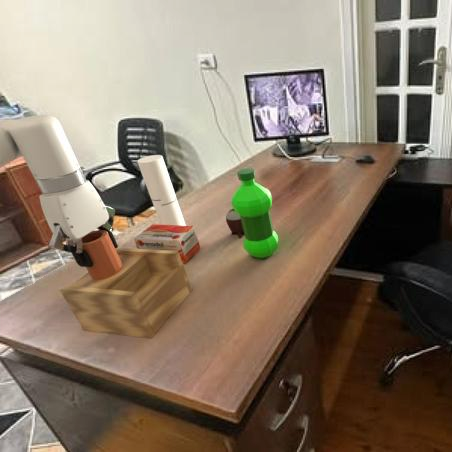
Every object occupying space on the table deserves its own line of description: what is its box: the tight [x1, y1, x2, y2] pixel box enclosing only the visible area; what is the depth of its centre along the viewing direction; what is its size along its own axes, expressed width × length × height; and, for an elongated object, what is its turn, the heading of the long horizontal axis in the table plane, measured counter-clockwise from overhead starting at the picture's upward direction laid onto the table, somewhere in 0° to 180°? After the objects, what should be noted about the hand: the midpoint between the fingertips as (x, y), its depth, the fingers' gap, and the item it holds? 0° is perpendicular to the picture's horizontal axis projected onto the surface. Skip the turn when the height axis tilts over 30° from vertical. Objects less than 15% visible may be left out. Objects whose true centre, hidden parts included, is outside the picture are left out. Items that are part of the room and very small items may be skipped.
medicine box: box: [133, 224, 201, 264], centre depth 103 cm, size 15×8×8 cm, turn 77°
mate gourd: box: [225, 208, 244, 239], centre depth 109 cm, size 8×8×15 cm
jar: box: [74, 229, 123, 280], centre depth 77 cm, size 6×6×9 cm
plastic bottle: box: [231, 168, 279, 259], centre depth 95 cm, size 10×10×25 cm
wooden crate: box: [58, 247, 193, 339], centre depth 81 cm, size 18×16×12 cm
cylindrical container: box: [136, 154, 187, 226], centre depth 113 cm, size 7×7×25 cm
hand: (99, 256), depth 77 cm, fingers closed on jar, 6 cm apart
